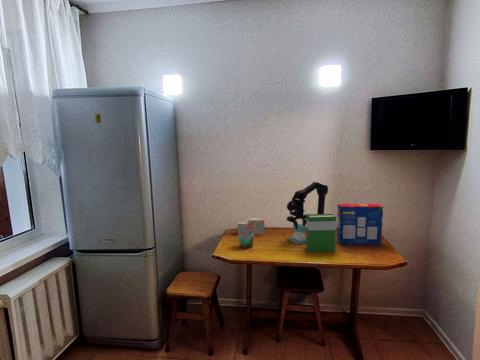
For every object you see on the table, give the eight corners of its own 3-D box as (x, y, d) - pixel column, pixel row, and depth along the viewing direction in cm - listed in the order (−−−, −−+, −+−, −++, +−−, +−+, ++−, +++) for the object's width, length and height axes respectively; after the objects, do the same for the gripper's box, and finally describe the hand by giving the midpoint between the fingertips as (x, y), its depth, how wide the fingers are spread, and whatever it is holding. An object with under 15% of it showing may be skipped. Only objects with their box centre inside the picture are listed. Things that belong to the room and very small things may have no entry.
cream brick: (299, 236, 206) (299, 231, 205) (305, 240, 198) (305, 235, 198) (293, 237, 204) (293, 232, 203) (299, 241, 196) (299, 236, 196)
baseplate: (302, 237, 209) (302, 235, 208) (310, 242, 197) (310, 240, 197) (288, 239, 205) (288, 237, 205) (296, 244, 194) (296, 242, 194)
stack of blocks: (237, 235, 217) (237, 220, 216) (238, 232, 224) (237, 218, 222) (264, 234, 217) (264, 220, 215) (264, 232, 223) (263, 217, 221)
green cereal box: (331, 247, 188) (332, 213, 185) (335, 251, 181) (336, 216, 177) (306, 247, 188) (306, 214, 185) (308, 252, 181) (309, 217, 178)
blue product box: (376, 241, 197) (378, 204, 193) (380, 245, 189) (382, 206, 185) (336, 240, 200) (337, 203, 196) (339, 244, 192) (340, 206, 188)
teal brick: (298, 228, 205) (298, 223, 204) (305, 231, 198) (305, 226, 198) (293, 229, 202) (293, 224, 202) (301, 232, 196) (301, 227, 195)
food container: (235, 248, 191) (234, 234, 189) (238, 244, 196) (238, 231, 195) (251, 250, 186) (251, 236, 185) (254, 246, 192) (254, 233, 191)
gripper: (304, 205, 208) (304, 224, 210) (283, 207, 203) (283, 227, 205) (313, 208, 198) (312, 228, 200) (290, 210, 192) (290, 232, 194)
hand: (299, 229), depth 200 cm, fingers closed on teal brick, 6 cm apart
